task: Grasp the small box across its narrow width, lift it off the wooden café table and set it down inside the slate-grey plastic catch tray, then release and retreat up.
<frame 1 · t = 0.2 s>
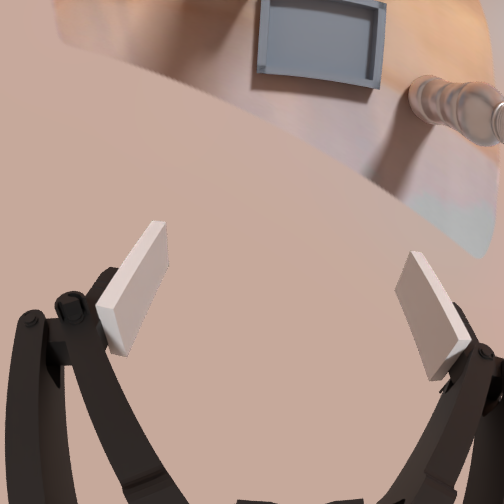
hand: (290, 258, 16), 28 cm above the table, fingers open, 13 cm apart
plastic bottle: (423, 97, 34), on the table
catch tray: (320, 35, 31), on the table
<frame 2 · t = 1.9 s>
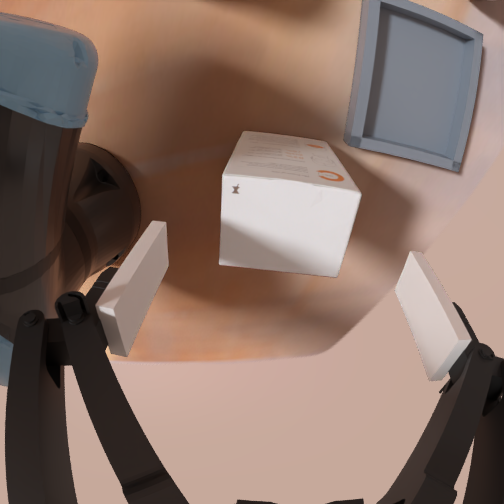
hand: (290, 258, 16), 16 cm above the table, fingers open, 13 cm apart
catch tray: (413, 80, 23), on the table
small box: (281, 165, 30), on the table
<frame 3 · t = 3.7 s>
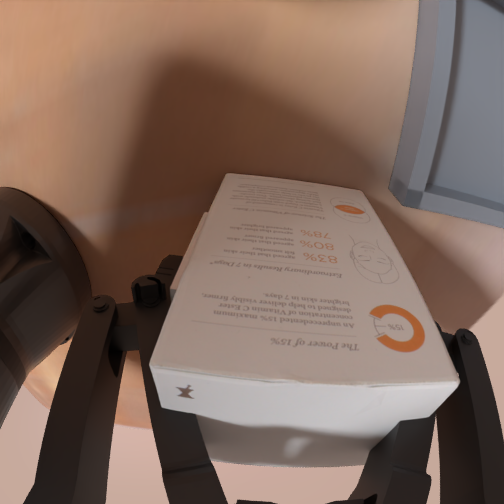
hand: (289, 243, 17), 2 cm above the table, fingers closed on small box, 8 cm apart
catch tray: (492, 98, 13), on the table
small box: (288, 226, 19), on the table, touching gripper
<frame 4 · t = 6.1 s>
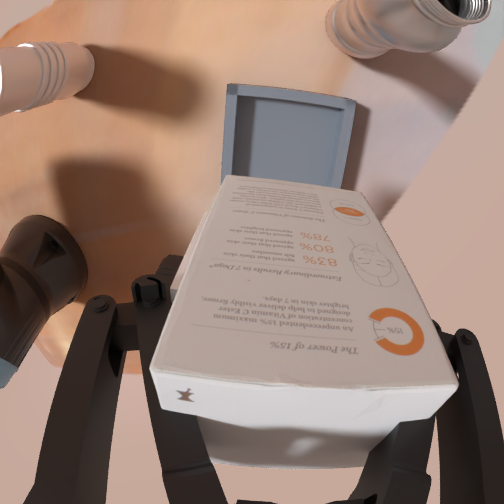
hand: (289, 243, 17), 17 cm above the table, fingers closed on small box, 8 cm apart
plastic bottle: (353, 30, 24), on the table
catch tray: (283, 158, 32), on the table
small box: (288, 228, 19), point 15 cm above the table, touching gripper
white bottle: (74, 69, 27), on the table
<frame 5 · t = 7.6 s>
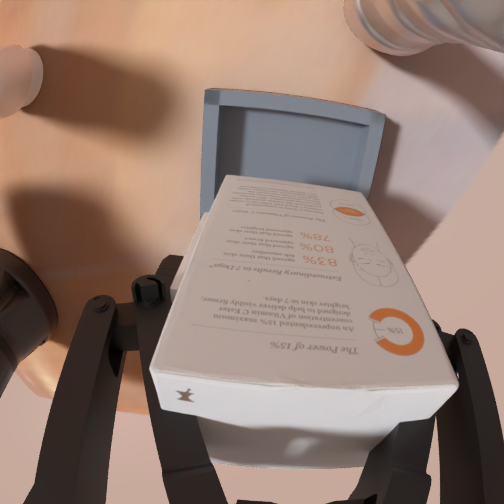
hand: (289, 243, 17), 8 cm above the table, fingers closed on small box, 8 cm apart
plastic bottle: (379, 17, 16), on the table
catch tray: (283, 190, 24), on the table
small box: (288, 228, 19), point 6 cm above the table, touching gripper
white bottle: (22, 77, 19), on the table
when the fingers open (4 cm above the table, at t = 8.8 s): small box drops 2 cm, resting on catch tray.
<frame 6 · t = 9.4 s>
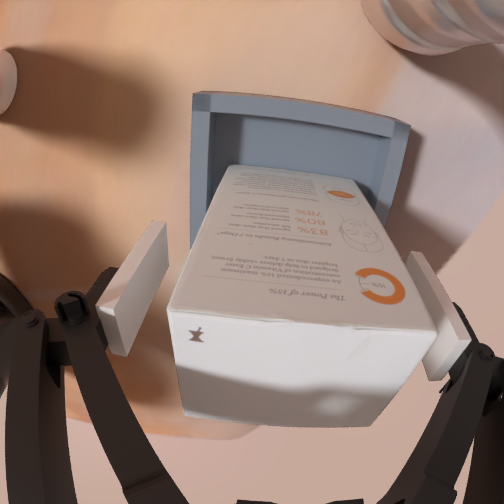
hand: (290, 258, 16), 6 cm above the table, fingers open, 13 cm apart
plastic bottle: (401, 10, 13), on the table
catch tray: (287, 211, 21), on the table
small box: (286, 213, 21), resting on catch tray
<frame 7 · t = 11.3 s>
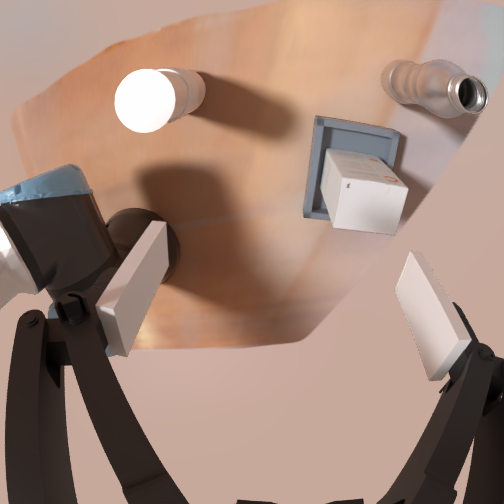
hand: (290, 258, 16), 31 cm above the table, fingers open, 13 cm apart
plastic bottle: (398, 80, 36), on the table
catch tray: (348, 170, 44), on the table
small box: (348, 171, 44), resting on catch tray
white bottle: (185, 90, 40), on the table
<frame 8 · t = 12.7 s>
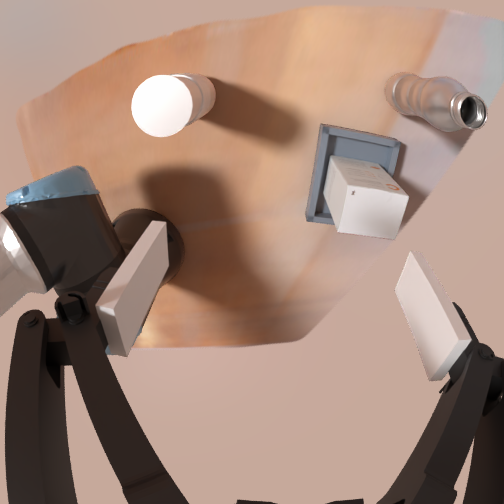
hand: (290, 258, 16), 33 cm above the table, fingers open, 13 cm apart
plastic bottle: (400, 92, 38), on the table
catch tray: (350, 176, 46), on the table
small box: (350, 177, 46), resting on catch tray
white bottle: (195, 94, 41), on the table
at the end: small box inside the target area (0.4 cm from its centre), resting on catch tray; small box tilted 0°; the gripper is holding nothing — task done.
